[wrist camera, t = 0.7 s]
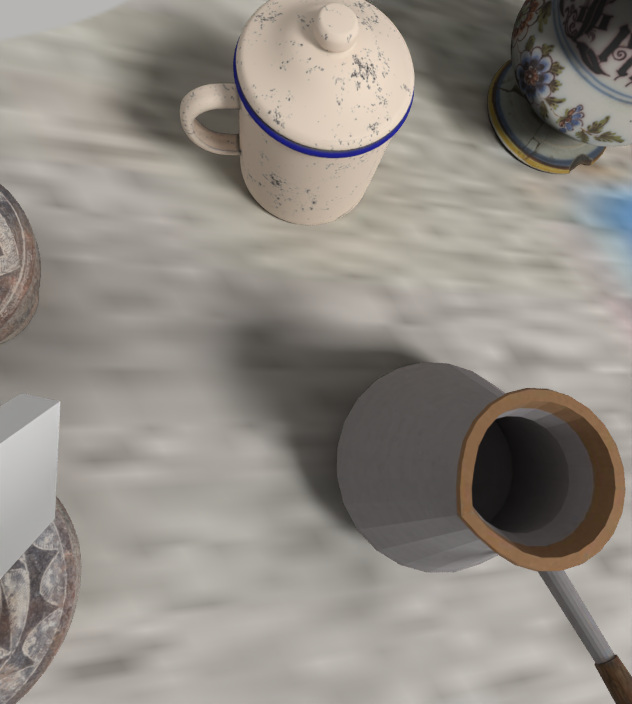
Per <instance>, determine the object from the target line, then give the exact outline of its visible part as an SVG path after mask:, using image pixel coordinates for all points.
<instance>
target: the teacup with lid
mask: <svg viewBox="0 0 632 704" xmlns="http://www.w3.org/2000/svg"><path fill="white" fill-rule="evenodd" d="M233 70H234V79H235V83H216V84H207V85H203V86H200V87H197V88H195V89H193V90H192V91H190V92H189V93H188V94H186V96H185V97H184V98H183V100H182V102H181V105H180V119H181V124H182V127H183V130H184V131H185V133H186V135H187V136H188V137H189V138H190V140H191V141H192V142H194V143H195V144H196V145H197V146H199V147H200V148H202V149H204V150H206V151H209V152H212V153H216V154H222V155H240V165H241V171H242V175H243V179H244V181H245V184H246V186H247V188H248V190H249V191H250V193H251V195H252V196H253V197H254V198H255V200H256V201H257V202H258V203H259V204H260V205H261V206H262V207H263V208H264V209H266V210H267V211H268V212H270V213H271V214H273V215H275V216H276V217H278V218H280V219H282V220H285V221H288V222H291V223H295V224H301V225H319V224H325V223H329V222H332V221H334V220H337V219H339V218H341V217H343V216H344V215H346V214H347V213H349V212H350V211H351V210H352V209H353V208H354V207H355V206H356V205H357V204H358V203H359V201H360V200H361V199H362V197H363V195H364V193H365V191H366V189H367V187H368V185H369V183H370V181H371V179H372V177H373V175H374V173H375V171H376V169H377V166H378V164H379V162H380V160H381V158H382V156H383V154H384V152H385V150H386V148H387V146H388V144H389V142H390V140H391V138H392V136H393V135H394V134H395V133H396V132H397V131H398V130H399V128H400V127H401V126H402V124H403V123H404V121H405V119H406V118H407V115H408V113H409V111H410V108H411V105H412V101H413V96H414V68H413V63H412V59H411V55H410V52H409V49H408V47H407V45H406V42H405V40H404V39H403V37H402V35H401V34H400V32H399V31H398V29H397V28H396V27H395V25H394V24H393V23H392V22H391V21H390V20H389V18H388V17H387V16H386V15H385V14H383V13H382V12H381V11H380V10H379V9H377V8H376V7H375V6H373V5H372V4H370V3H369V2H367V1H365V0H269V1H267V2H266V3H265V4H263V5H262V6H261V7H260V8H259V9H258V10H257V11H256V12H255V13H254V14H253V15H252V16H251V18H250V19H249V20H248V22H247V23H246V25H245V27H244V28H243V30H242V33H241V35H240V37H239V39H238V42H237V45H236V48H235V54H234V62H233ZM214 109H239V128H240V133H239V134H225V133H218V132H214V131H211V130H209V129H207V128H206V127H204V126H203V125H202V124H200V123H199V122H198V121H197V119H196V117H197V116H198V115H200V114H201V113H203V112H206V111H209V110H214Z"/></svg>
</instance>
